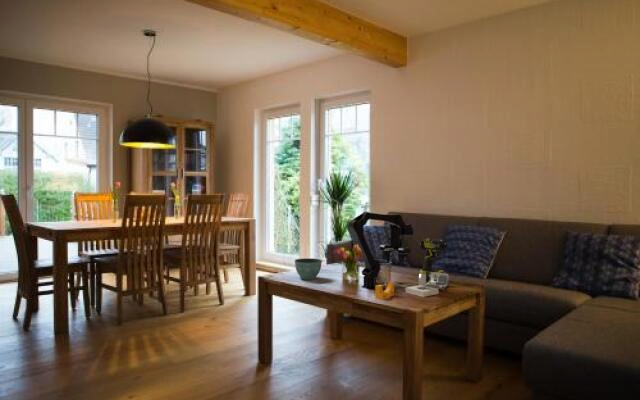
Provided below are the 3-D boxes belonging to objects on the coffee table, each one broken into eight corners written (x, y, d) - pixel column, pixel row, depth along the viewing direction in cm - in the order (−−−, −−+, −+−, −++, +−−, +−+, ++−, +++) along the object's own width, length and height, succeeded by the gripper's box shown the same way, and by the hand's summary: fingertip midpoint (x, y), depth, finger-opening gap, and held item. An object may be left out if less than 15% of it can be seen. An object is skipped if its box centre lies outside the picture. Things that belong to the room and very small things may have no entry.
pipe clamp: (382, 300, 232) (382, 287, 232) (375, 298, 235) (375, 285, 235) (396, 296, 241) (396, 283, 240) (389, 294, 244) (390, 282, 243)
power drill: (447, 283, 274) (448, 240, 273) (417, 280, 280) (418, 238, 279) (448, 280, 282) (450, 238, 281) (420, 277, 288) (421, 236, 288)
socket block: (402, 291, 250) (402, 286, 250) (386, 287, 260) (386, 282, 260) (417, 288, 258) (417, 284, 258) (401, 284, 267) (401, 280, 267)
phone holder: (442, 274, 251) (421, 272, 257) (441, 292, 251) (420, 290, 257) (450, 269, 267) (430, 267, 272) (450, 286, 267) (429, 284, 273)
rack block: (423, 296, 239) (423, 292, 239) (405, 292, 249) (405, 287, 249) (438, 293, 247) (438, 289, 247) (420, 289, 256) (420, 284, 256)
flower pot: (288, 278, 280) (289, 260, 279) (307, 274, 292) (307, 257, 292) (309, 282, 269) (309, 263, 269) (327, 278, 281) (327, 260, 281)
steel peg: (422, 294, 245) (422, 275, 245) (416, 292, 248) (417, 273, 248) (426, 293, 247) (427, 274, 247) (421, 291, 250) (421, 273, 250)
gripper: (417, 237, 261) (416, 265, 262) (392, 234, 276) (392, 260, 277) (403, 238, 255) (403, 267, 255) (379, 235, 269) (378, 262, 270)
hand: (394, 264), depth 265 cm, fingers open, 9 cm apart
